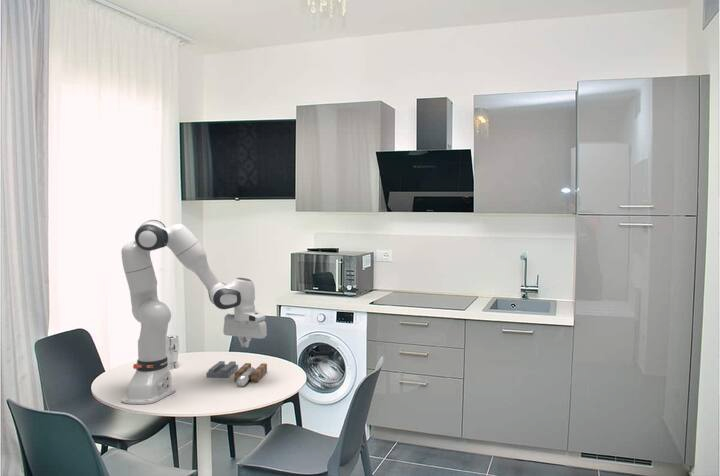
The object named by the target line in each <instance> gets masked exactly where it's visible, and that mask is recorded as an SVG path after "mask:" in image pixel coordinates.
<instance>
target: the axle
mask: <svg viewBox="0 0 720 476" xmlns="http://www.w3.org/2000/svg"><path fill="white" fill-rule="evenodd" d="M255 369H256V368H255V367H253V366H251V367H250V368H249V369H247V370H246V371H245V372H244V373H243V374H242V375H241V376H240V377H239V378H238V379H237V380H236V382H235V384H236V386H237V387H239V388H242V387H244V386H245V385H246V384H248V383H247V382H248V381H249V380H250V379H251V373H252V372H253V371H254V370H255Z"/></svg>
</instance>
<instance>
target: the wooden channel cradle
mask: <svg viewBox="0 0 720 476" xmlns="http://www.w3.org/2000/svg"><path fill="white" fill-rule="evenodd" d="M250 367H252V362H245V363H244V364H243V365H241V366H240V368H238V370H237V371H235V372H234V373H233V375H234V376H233V377H234V383H236V380H237V379H238V378H239V377H240V376H241V375H242V374H243V373H244V372H245V371H246V370H247V369H249V368H250ZM267 373H268V364H267V363H265V362H264V363H262V362H261V363H260V365H258V367H256V368H255V370H254V371H253V372H252V373H251V379H250V380H249V381H248V382H247V383H246V384H258V383H259V382H260V380H261V379H262V378H263V377H264V376H265V375H266V374H267Z"/></svg>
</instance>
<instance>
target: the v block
mask: <svg viewBox="0 0 720 476" xmlns="http://www.w3.org/2000/svg"><path fill="white" fill-rule="evenodd" d="M225 362H226V361H223V360H220V361H218V362H217V363H216V364H214V365H212V366H211V367H210V368H209V369H208V371H207V372H206V378H207V379H208V378H210V379H211V378H212V379H213V378H215V379H216V378H217V379H229V378H230V377H231V376H232V375H234V373H235V372H236V371H237V370H239V364H237V362H236V361H235V360H234V361H229V362H228V363H227V364H226V363H225Z"/></svg>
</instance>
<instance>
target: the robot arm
mask: <svg viewBox="0 0 720 476" xmlns="http://www.w3.org/2000/svg"><path fill="white" fill-rule="evenodd" d="M165 247H167V248H168V249H170V250H171V252H172V254H174V256H175V257H176V258H177V260H178V261H179V262H180V263H181V264H182V265H183V266H184V267H185V268H187V270H189V271H191V272H193V273H194V274H195V275H196V276H197V277H198V278H199V280H200V281H201V283H202V284H203V285H204V286H205V289H206V290H207V294H208V298H209V301H210V302H211V304H213V305H214V306H215V307H216V308H218V309H220V310H229V309H233V311H234V312H233V314H231V313H227V314H226V315H224V319H223V320H224V323H223V329H222V330H223V331H222V332H223V335H224V336H229V337H232V336H233V337H238V341H239V343H240V347H241V348H249V347H250V342H251V340H252V339H260V340H262V339H265V338H266V337H267V335H268V332H267V331H268V330H267V328H268V327H267V323H266V321H265V320H266V314H264V313H261V312H259V311H257V310H256V307H255V306H256V305H255V299H256V290H255V283H254V282H253V280H251V279H249V278H245V277H237V278H235V279H234V280H232V281H231V282H229V283H224V282H222V281H221V279H219V278H218V276H217V275H216V274H215V273H214V271H213V269H212V268H211V266H210V265H209V263H208V259H207V257H208V256H207V253H206V251H205V249H204V248H203V247H204V246H203V245H202V244H201V243H200V241H199V240H198V239H197V236H196V235H194V233H193V232H192V231H191V230H190V229H188V227H186V226H185V225H184V224H182V223H175V224H172V225H171V226H169V227H166V226H165V223H163V222H161V221H159V220H156V219H149V220H147V221H145V222H143V223H141V225H140V226H139V227H138V228H137V230H136V231H135V234H134V241H130V242H127V243H126V244H124V245H123V247H122V248H121V250H120V251H121V252H120V253H121V262H122V266H123V267H122V268H123V271H124V274H125V278H126V281H127V282H126V283H127V286H128V289H129V295H130V303H131V313H132V316H133V317H134V319H135V320H136V321H137V322H139V323H140V332H139V338H138V340H137V357H138V358H137V361H136V363H133V366H132V368H133V370H135V372H134V374H133V376H132V378H131V380H130V382H129V383H128V385H127V394H125V396H123V397H122V399H121V401H120V402H121V403H122V402H123V404H129V405H149V404H154V403H156V402H158V401H160V400H162V399H164V398H166V397H168V396H170V395H172V394H174V393H176V389H175V388H174V387H173V381H172V372H171V371H170V369H168V368H167V365H168V359H167V356H166V336H168V335H167V333H168V329H169V328H168V327H169V323H170V321H171V318H172V312H171V309H170V308H169V307H168V306H167V304H166V303H164V302H162V301H160V300H159V297H158V288H157V287H158V280H157V276H156V272H155V269H154V265H153V261H152V258H151V251H156V250H158V249H159V250H160V249H162V248H165ZM244 339H245V340H246V341H245V340H244Z"/></svg>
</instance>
